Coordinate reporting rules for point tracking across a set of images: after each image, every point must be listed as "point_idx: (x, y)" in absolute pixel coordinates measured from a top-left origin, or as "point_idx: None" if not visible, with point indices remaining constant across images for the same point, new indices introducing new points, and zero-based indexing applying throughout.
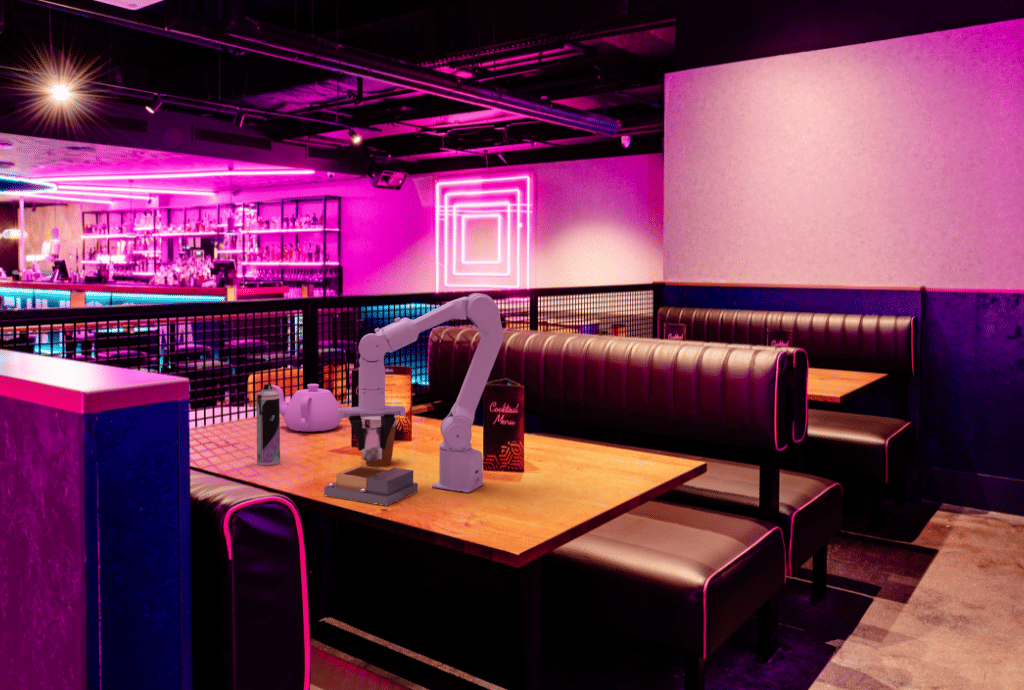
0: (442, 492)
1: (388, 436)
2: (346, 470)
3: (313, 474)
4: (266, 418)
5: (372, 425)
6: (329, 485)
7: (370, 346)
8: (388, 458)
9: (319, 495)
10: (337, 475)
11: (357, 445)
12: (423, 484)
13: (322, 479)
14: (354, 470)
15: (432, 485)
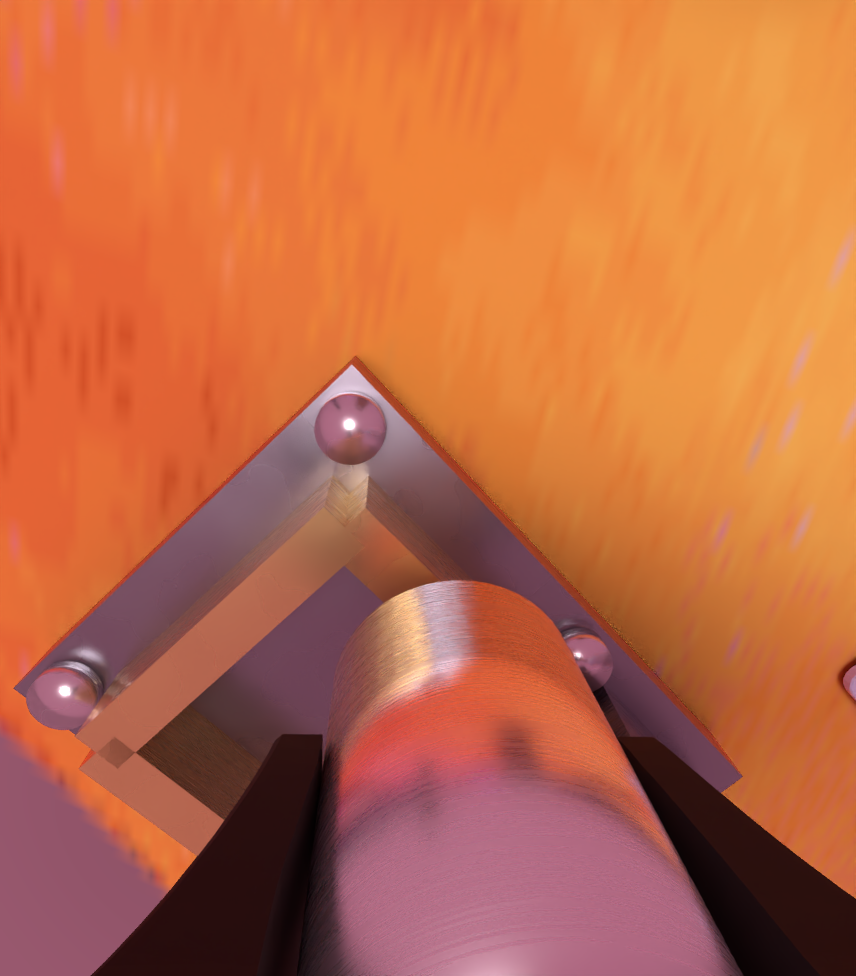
0: (850, 781)
1: None
2: (184, 645)
3: None
4: None
5: (635, 954)
6: (51, 721)
7: None
8: None
9: (14, 624)
10: (87, 768)
11: (264, 762)
12: (826, 572)
13: (35, 121)
14: (270, 629)
15: (852, 691)
